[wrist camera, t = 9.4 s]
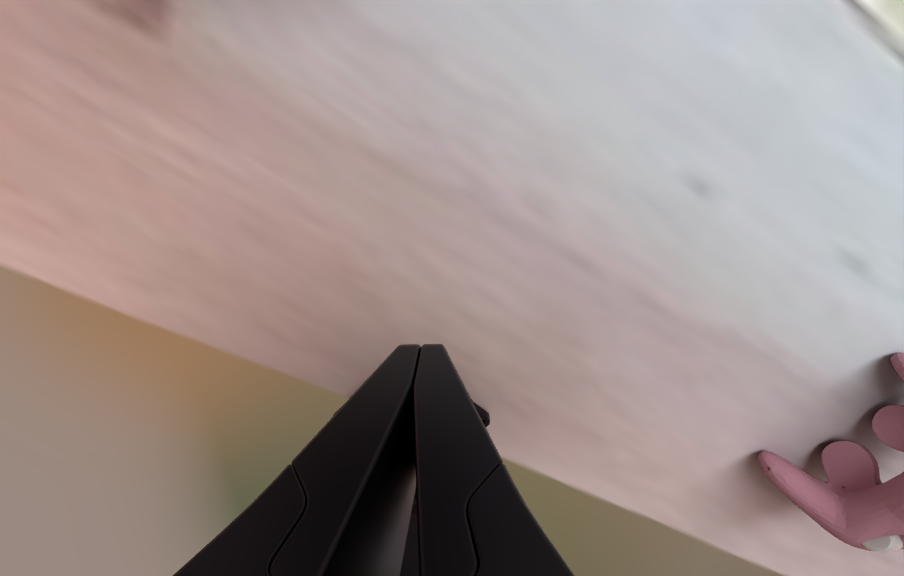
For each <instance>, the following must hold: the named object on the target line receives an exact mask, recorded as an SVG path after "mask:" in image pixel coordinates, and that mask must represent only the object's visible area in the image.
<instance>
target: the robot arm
mask: <svg viewBox="0 0 904 576" xmlns="http://www.w3.org/2000/svg"><path fill="white" fill-rule="evenodd" d="M481 419H483V420H481ZM489 423H490V416H489V414H488V413H487V412H486V411H485V410H484V409H482V408H481V407H479V406H478V405H477V404H475V403H474V402H473V401H472V400H471V398H470V396H469V394H468V392H467V390H466V388H465V386H464V384H463V382H462V380H461V378H460V376H459V374H458V373H457V371H456V369H455V367H454V365H453V363H452V361H451V359H450V357H449V355H448V353H447V351H446V349H445V347H444V346H443V345H442V344H424V345H423V346H422V347H421V346H420V345H418V344H409V345H399V346H398V347H397V348H396V349H395V350H394V351H393V352H392V353H391V354H390V355H389V356H388V358H387V359H386V360H385V361H384V362H383V363H382V364H381V365H380V366H379V367H378V368H377V370H376V371H375V372H374V373H373V374H372V375H371V376H370V377H369V378H368V379H367V380H366V381H365V383H364V384H363V385H362V386H361V387H360V388H359V389H358V390H357V391H356V392H355V393H354V394H353V396H352V397H351V398H350V399H349V400H348V401H347V402H346V403H345V404H344V405H343V406H342V407H341V408H340V409H339V410H338V411H337V412H335V414H334V415H333V417H332V418H331V419H330V421H329V422H328V423H327V424H326V425H325V426H324V427H323V428H322V429H321V430H320V431H319V432H318V434H317V435H316V436H315V437H314V438H313V439H312V440H311V441H310V442H309V443H308V444H307V446H306V447H305V448H304V449H303V450H302V451H301V452H300V453H299V454H298V455H297V456H296V457H295V459H294V460H293V461H292V465H291V464H290V465H288V466H287V467H286V468H285V469H284V470H283V471H282V472H281V474H280V475H279V476H278V477H277V478H276V479H275V480H274V481H273V482H272V483H271V484H270V485H269V486H268V487H267V488H266V489H265V490H264V491H263V492H262V494H260V495H259V496H258V498H257V499H256V500H255V501H254V502H253V503H252V504H251V505H250V506H249V507H248V508H246V509H245V510H244V511H243V512H242V513H241V514H240V515H239V516H238V517H237V518H236V519H235V520H234V521H233V522H232V523H230V525H229V526H227V527H226V528H225V529H224V530H223V531H222V532H221V533H220V534H219V535H217V536H216V537H215V539H213V540H212V541H211V542H210V543H209V544H207V545H206V546H205V547H204V548H203V549H202V550H201V551H200V552H199V553H198V554H196V555H195V556H194V557H193V558H192V559H191V560H190V561H189V562H188V563H187V564H185V565H184V566H183V567H182V568H181V569H180V570H179V571H178V572H176V573H175V574H174V575H173V576H574V574H573V573H572V571H571V570H570V568H569V567H568V566H567V564H566V563H565V561H564V560H563V558H562V557H561V556H560V554H559V553H558V551H557V550H556V549H555V547H554V546H553V544H552V543H551V541H550V540H549V539H548V537H547V536H546V534H545V533H544V531H543V530H542V528H541V527H540V525H539V524H538V522H537V521H536V519H535V518H534V516H533V515H532V513H531V512H530V510H529V508H528V507H527V505H526V503H525V502H524V500H523V498H522V496H521V494H520V493H519V491H518V489H517V487H516V486H515V484H514V482H513V480H512V478H511V476H510V474H509V472H508V470H507V468H506V466H505V465H504V464H503V461H502V459H501V457H500V455H499V453H498V451H497V449H496V447H495V445H494V443H493V441H492V439H491V437H490V435H489V433H488V431H487V429H486V427H487V426H488V425H489Z"/></svg>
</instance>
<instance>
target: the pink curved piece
mask: <svg viewBox="0 0 904 576" xmlns="http://www.w3.org/2000/svg"><path fill="white" fill-rule="evenodd" d="M890 361H891V363H892V365H893V367H894V369H895V371H896V372H897V373H898V375H899V376H900V377H901V379H902V380H903V381H904V353H895V354H894V355H892V356H891V358H890ZM872 428H873V431H874V433H875V435H876V436H877V437H878V438H879V439H880V440H881V441H882V442H883V443H885V444H886V445H887V446H890V447H892V448H894V449H896V450H899V451H903V452H904V406H903V405H889V406H886V407H883V408H881V409H880V410H879V411H878V412H877V413H876V414H875V416H874V418H873V420H872ZM758 460H759V463H760V465H761V467H762V469H763V471H764V472H765V474H766V475H767V477H768V478H769V479H770V480H771V482H772V483H773V484H774V485H775V486H776V487H777V488H778V489H779V490H780V491H781V492H782V493H783V494H785V495H786V496H787V497H788V498H789V499H790V500H791V501H792V502H793V503H794V504H795V505H797V506H798V507H799V508H800V509H801V510H802V511H804V512H805V513H806V514H807V515H808V516H810V517H811V518H812V519H813V520H814V521H815V522H817V523H818V524H819V525H820V526H821V527H823V528H824V529H825V530H826V531H828V532H829V533H831V534H832V535H833V536H835V537H836V538H838V539H839V540H841V541H843V542H845V543H847V544H849V545H851V546H854V547H857V548H861V549H865V550H870V551H878V552H895V551H898V550H900V549H904V472H903V473H901V474H900V475H898V476H896V477H894V478H893V479H891V480H889V481H887V482H885V483H882V482H881V480H880V476H879V467H878V464H877V461H876V459H875V458H874V456H873V455H872V454H871V452H870V451H869V450H867V449H866V448H865V447H863V446H862V445H860V444H857V443H855V442H852V441H836V442H833V443H831V444H829V445H828V446H826V447H825V449H824V450H823V452H822V462H823V466H824V468H825V471H826V474H827V478H828V482H822V481H820V480H818V479H816V478H813V477H811V476H809V475H808V474H806V473H805V472H803V471H802V470H800V469H799V468H798V467H796V466H795V465H793V464H792V463H790V462H789V461H787V460H785V459H783V458H782V457H780V456H778V455H776V454H774V453H771V452H768V451H762V452H760V453H759V455H758Z"/></svg>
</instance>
